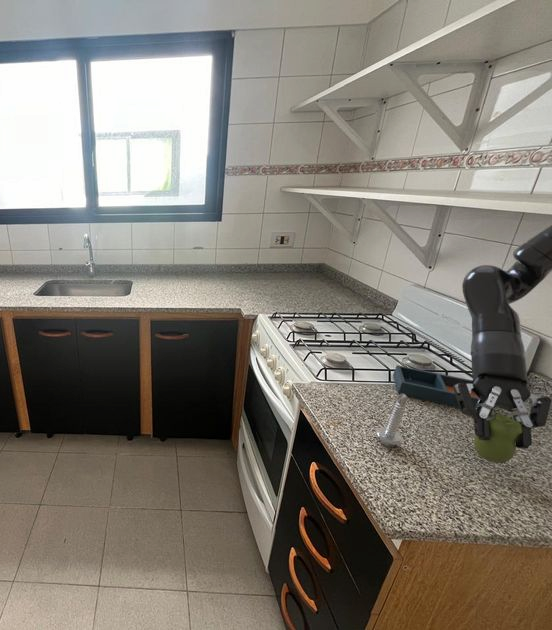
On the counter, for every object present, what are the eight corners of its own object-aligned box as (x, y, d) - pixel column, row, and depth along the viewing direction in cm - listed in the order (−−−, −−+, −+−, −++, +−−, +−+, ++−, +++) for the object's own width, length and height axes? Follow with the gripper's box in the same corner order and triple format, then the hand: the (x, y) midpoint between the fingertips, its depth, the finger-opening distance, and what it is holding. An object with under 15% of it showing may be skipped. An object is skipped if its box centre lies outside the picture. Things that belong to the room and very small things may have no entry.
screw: (378, 431, 78) (403, 444, 75) (369, 441, 76) (394, 454, 72) (395, 384, 73) (423, 395, 70) (386, 392, 71) (414, 404, 67)
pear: (463, 452, 70) (478, 412, 66) (480, 444, 71) (496, 405, 68) (498, 473, 65) (517, 431, 61) (516, 464, 66) (535, 422, 63)
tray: (477, 393, 91) (482, 382, 89) (490, 415, 83) (496, 403, 82) (392, 375, 99) (396, 364, 97) (397, 393, 91) (401, 382, 90)
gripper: (462, 345, 69) (465, 432, 64) (560, 359, 64) (572, 454, 59) (443, 356, 76) (444, 435, 70) (531, 369, 70) (539, 455, 65)
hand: (502, 443), depth 65 cm, fingers closed on pear, 5 cm apart
